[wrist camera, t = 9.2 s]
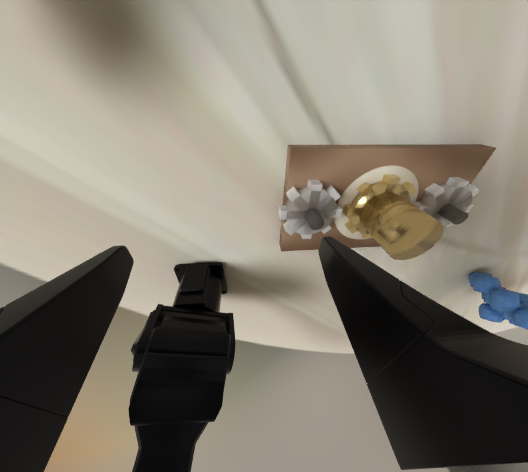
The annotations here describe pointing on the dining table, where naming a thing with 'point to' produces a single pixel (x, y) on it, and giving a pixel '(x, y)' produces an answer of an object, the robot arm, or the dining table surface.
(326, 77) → the dining table surface
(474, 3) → the dining table surface
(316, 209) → the gear board
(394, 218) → the brass gear
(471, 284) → the grapes
